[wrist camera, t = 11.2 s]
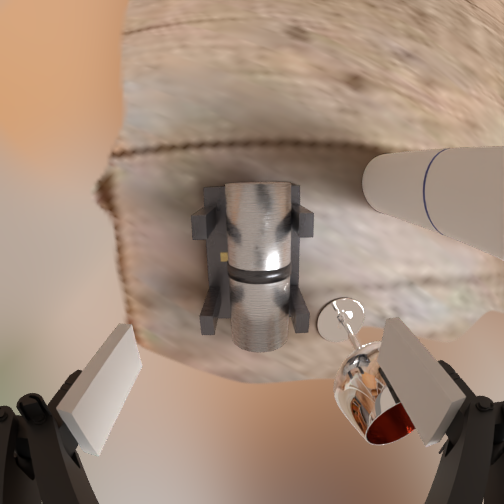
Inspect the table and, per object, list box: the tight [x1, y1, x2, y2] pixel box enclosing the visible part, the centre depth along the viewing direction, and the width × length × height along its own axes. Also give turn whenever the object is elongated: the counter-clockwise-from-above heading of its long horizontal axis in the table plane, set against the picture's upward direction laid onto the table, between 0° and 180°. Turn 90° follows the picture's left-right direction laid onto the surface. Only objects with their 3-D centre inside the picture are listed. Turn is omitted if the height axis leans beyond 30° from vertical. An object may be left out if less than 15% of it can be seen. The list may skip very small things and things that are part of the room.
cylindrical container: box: [362, 146, 504, 261], centre depth 18 cm, size 7×7×25 cm
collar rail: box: [191, 185, 314, 335], centre depth 28 cm, size 15×10×8 cm, turn 1°
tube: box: [225, 182, 291, 352], centre depth 28 cm, size 16×6×6 cm, turn 1°
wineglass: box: [317, 298, 416, 445], centre depth 25 cm, size 8×8×18 cm
